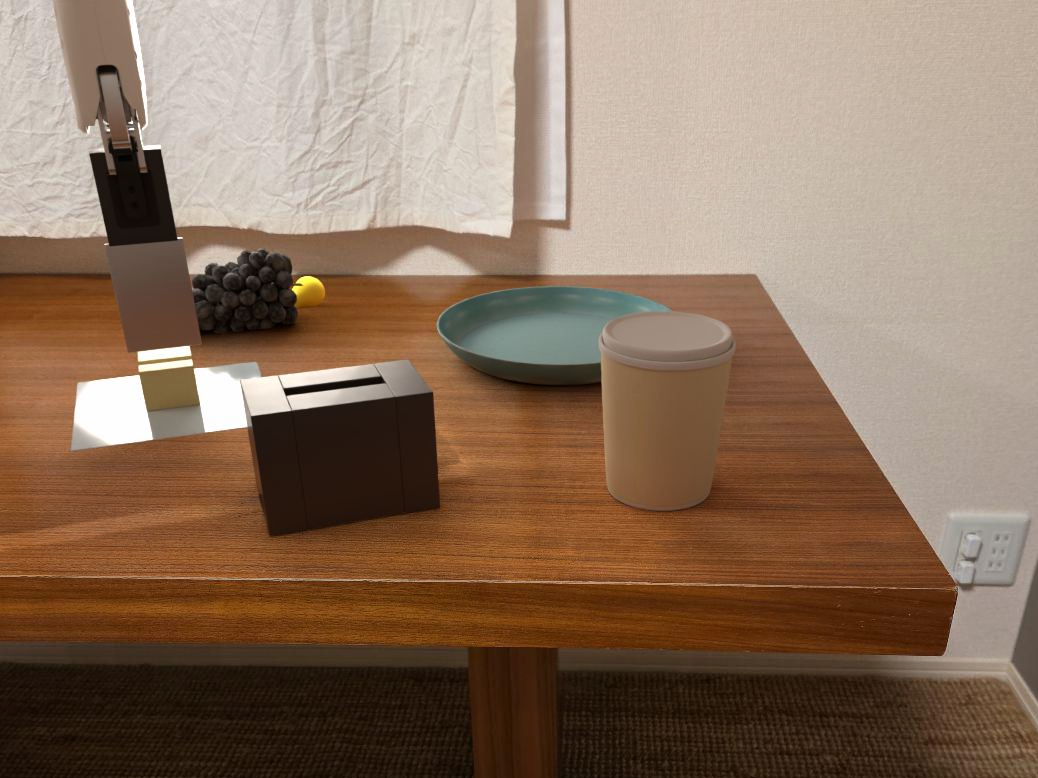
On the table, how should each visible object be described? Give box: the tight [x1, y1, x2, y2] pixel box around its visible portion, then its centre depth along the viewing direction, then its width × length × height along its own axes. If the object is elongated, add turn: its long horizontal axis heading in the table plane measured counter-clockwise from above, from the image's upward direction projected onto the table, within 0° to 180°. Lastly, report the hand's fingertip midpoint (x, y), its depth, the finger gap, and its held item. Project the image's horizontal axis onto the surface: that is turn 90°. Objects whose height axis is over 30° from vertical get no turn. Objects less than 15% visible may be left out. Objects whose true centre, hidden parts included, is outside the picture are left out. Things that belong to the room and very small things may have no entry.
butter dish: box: [70, 361, 263, 452], centre depth 88 cm, size 16×16×1 cm
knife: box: [88, 144, 203, 354], centre depth 82 cm, size 6×2×16 cm, turn 110°
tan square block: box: [137, 358, 200, 411], centre depth 86 cm, size 4×2×4 cm, turn 110°
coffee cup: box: [599, 310, 737, 512], centre depth 72 cm, size 9×9×12 cm
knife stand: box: [240, 359, 441, 537], centre depth 71 cm, size 12×7×9 cm, turn 110°
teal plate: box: [436, 285, 673, 386], centre depth 100 cm, size 24×24×3 cm
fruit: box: [191, 247, 303, 334], centre depth 105 cm, size 9×8×15 cm
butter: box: [136, 346, 193, 366], centre depth 90 cm, size 4×6×4 cm
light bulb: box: [291, 275, 326, 309], centre depth 114 cm, size 3×6×4 cm, turn 140°
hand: (138, 221), depth 81 cm, fingers closed on knife, 2 cm apart
